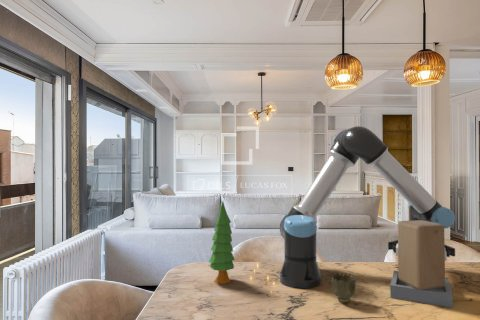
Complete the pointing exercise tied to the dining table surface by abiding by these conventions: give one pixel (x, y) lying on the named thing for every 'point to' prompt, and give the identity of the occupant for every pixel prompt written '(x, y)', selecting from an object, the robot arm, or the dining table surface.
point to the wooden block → (421, 254)
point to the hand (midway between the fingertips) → (420, 254)
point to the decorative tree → (222, 247)
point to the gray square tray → (421, 293)
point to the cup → (344, 286)
